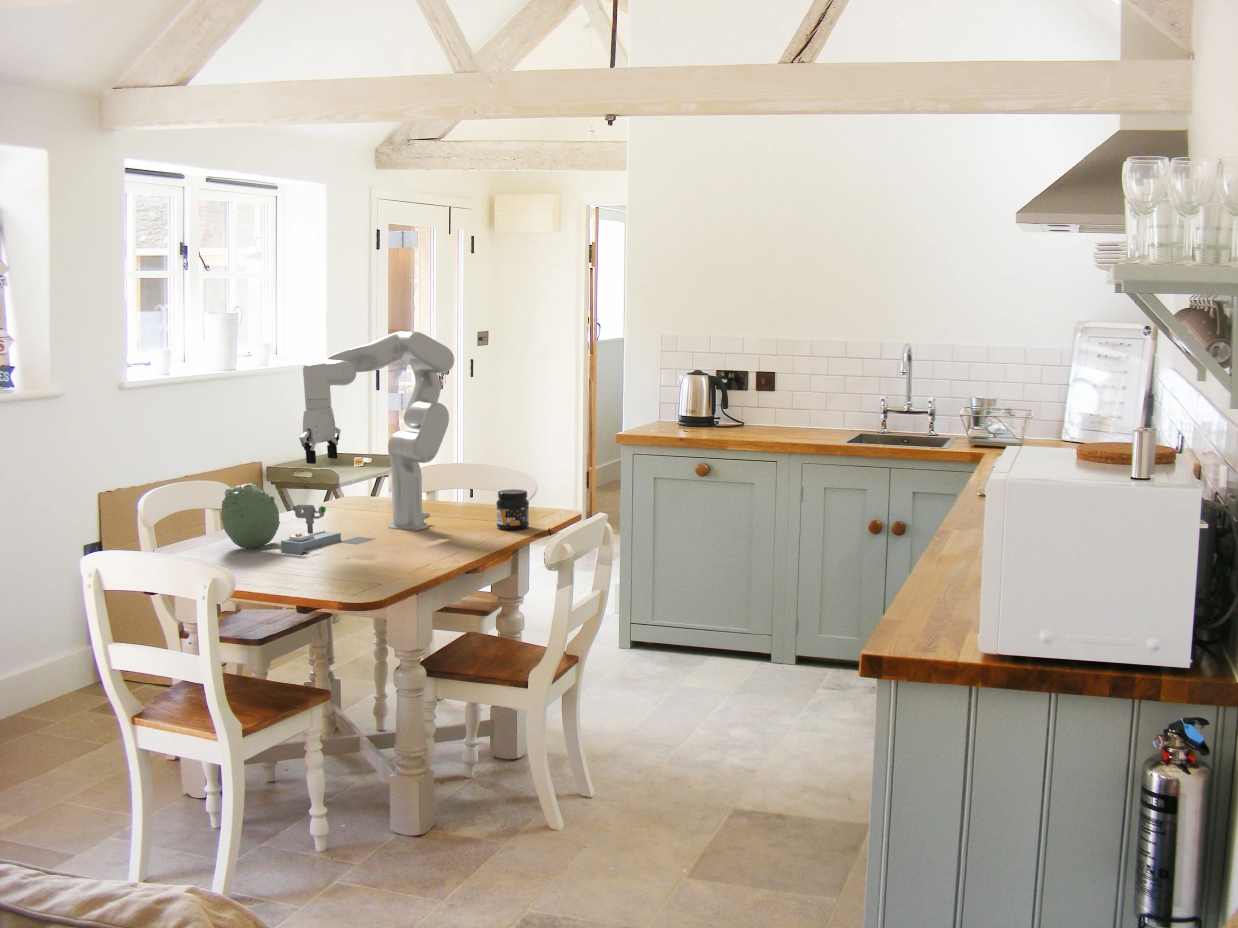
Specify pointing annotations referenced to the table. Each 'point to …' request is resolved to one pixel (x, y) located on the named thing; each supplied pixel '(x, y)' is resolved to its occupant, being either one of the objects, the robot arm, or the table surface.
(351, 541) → the flat grey plate
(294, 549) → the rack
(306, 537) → the grey small block
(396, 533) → the table surface
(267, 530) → the green rounded lump
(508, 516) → the supplement container
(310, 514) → the mechanical component
